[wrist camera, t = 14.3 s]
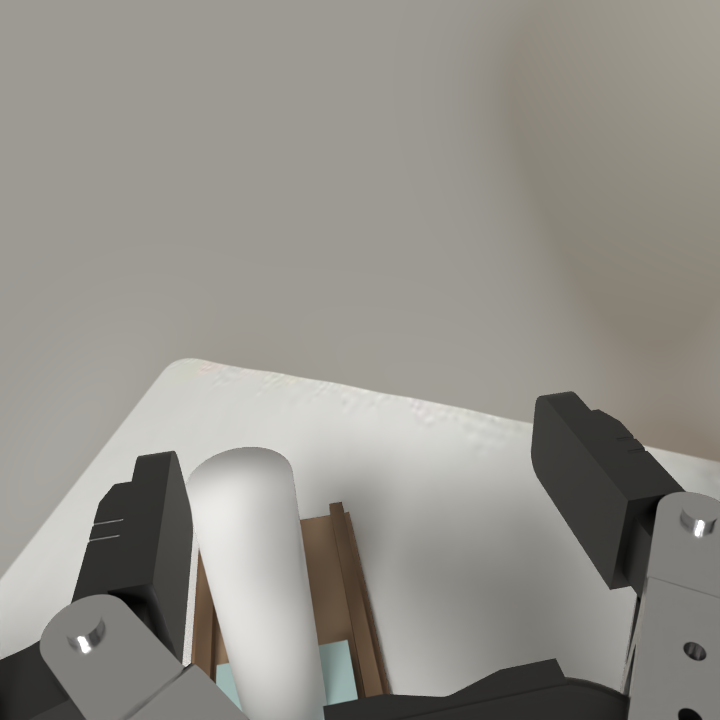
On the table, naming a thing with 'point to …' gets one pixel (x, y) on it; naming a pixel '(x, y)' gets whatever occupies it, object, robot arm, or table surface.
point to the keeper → (263, 589)
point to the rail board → (329, 600)
